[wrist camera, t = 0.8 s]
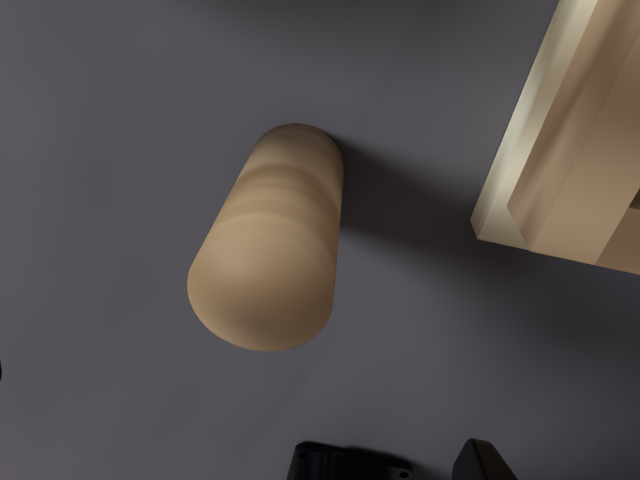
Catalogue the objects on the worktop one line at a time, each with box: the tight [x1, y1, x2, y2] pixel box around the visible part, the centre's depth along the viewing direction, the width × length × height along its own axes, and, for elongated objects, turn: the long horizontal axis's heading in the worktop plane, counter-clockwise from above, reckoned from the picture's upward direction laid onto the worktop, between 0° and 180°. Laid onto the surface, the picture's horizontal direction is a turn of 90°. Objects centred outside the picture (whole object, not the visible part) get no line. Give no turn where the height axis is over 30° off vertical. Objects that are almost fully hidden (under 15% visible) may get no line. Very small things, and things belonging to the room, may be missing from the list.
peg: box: [187, 123, 344, 351], centre depth 16 cm, size 4×4×8 cm
